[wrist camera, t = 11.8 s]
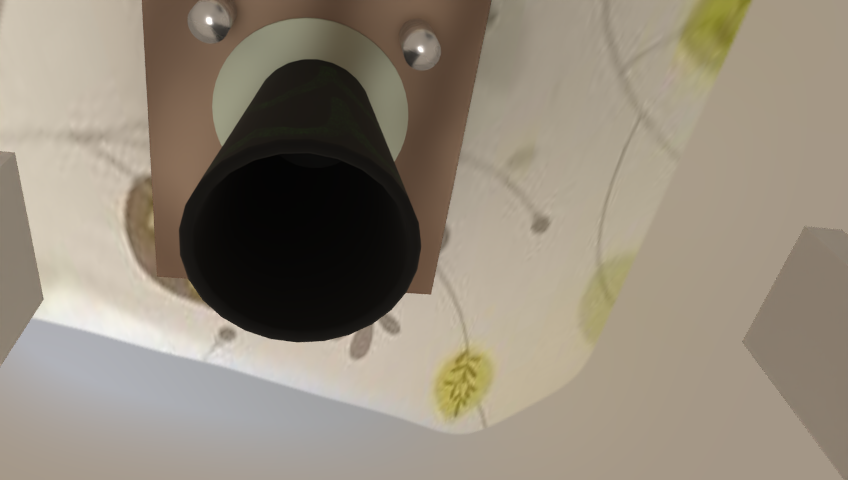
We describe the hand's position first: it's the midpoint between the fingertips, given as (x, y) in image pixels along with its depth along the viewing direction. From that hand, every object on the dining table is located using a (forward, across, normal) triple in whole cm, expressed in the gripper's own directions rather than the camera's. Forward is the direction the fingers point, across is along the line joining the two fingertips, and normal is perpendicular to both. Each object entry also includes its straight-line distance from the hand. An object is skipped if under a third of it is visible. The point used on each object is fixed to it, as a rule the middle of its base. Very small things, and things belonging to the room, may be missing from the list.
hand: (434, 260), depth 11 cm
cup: (+21, -3, -6) cm, 22 cm away
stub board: (+22, -3, -6) cm, 23 cm away
